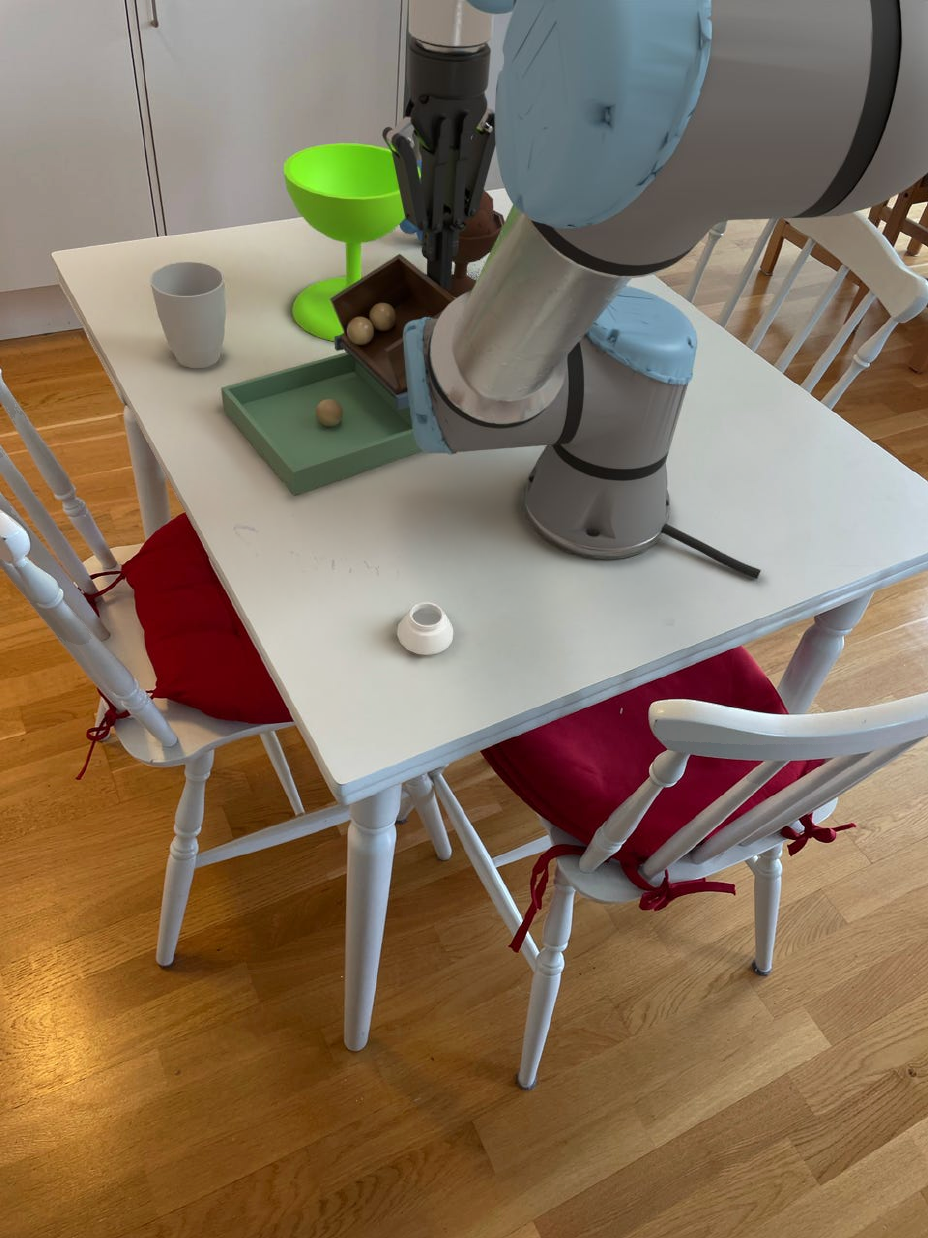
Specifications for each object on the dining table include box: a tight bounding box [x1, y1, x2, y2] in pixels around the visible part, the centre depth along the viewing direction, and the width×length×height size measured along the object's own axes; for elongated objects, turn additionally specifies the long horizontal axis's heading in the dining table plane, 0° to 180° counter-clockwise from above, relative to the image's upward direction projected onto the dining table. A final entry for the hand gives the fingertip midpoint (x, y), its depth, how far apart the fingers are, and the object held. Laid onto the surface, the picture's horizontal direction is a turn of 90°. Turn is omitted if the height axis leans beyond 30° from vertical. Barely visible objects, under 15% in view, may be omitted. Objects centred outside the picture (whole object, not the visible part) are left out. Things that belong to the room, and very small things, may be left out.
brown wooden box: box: [330, 253, 456, 398], centre depth 104 cm, size 12×10×6 cm
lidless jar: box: [396, 601, 454, 656], centre depth 86 cm, size 5×3×5 cm
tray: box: [220, 351, 424, 496], centre depth 106 cm, size 17×17×3 cm
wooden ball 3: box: [369, 303, 396, 331], centre depth 106 cm, size 3×3×3 cm
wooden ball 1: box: [316, 399, 343, 427], centre depth 106 cm, size 3×3×3 cm
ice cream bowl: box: [447, 189, 506, 298], centre depth 126 cm, size 11×11×15 cm
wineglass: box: [283, 142, 421, 342], centre depth 118 cm, size 16×16×18 cm
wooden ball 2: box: [347, 317, 374, 345], centre depth 105 cm, size 3×3×3 cm
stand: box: [334, 335, 410, 410], centre depth 109 cm, size 14×10×7 cm
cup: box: [149, 261, 227, 369], centre depth 111 cm, size 8×8×10 cm
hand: (438, 285), depth 103 cm, fingers closed
